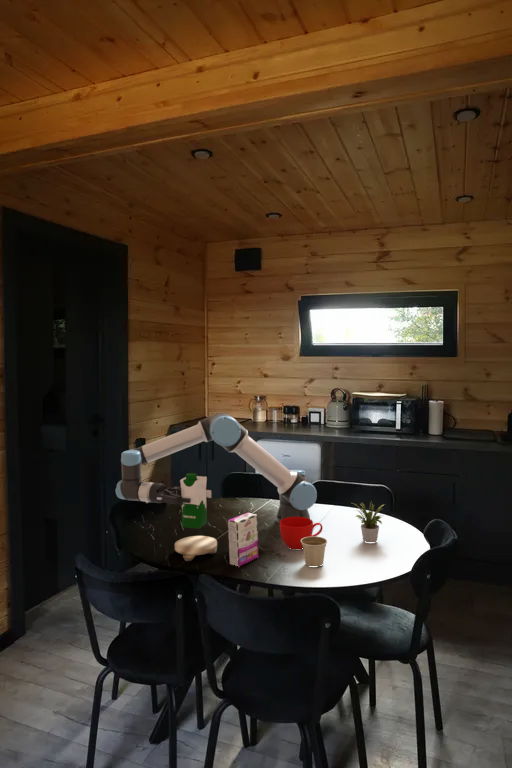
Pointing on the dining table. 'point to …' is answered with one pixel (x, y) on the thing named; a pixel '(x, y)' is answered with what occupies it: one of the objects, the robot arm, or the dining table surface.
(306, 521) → the ceramic cup
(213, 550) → the stand
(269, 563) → the dining table surface
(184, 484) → the soya milk
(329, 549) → the dining table surface
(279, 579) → the dining table surface
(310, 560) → the flower pot
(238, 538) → the candy bar box
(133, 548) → the dining table surface
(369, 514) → the house plant
